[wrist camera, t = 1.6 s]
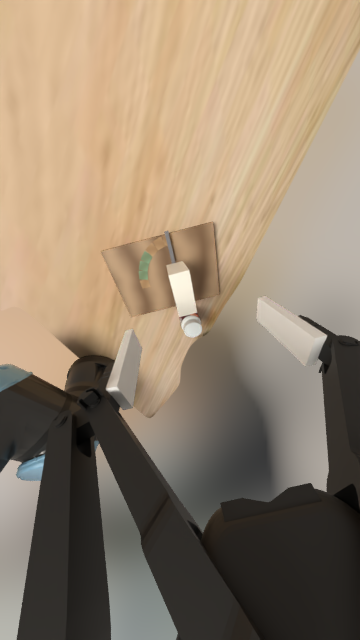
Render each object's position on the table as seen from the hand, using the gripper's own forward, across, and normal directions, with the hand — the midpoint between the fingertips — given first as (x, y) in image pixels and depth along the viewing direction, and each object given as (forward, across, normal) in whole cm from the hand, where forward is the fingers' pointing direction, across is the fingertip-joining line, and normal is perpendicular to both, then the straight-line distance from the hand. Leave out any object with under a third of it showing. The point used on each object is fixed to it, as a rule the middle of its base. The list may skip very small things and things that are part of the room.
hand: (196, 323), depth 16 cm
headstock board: (+22, -2, 0) cm, 22 cm away
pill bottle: (+22, 0, -11) cm, 24 cm away
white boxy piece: (+19, 0, +2) cm, 20 cm away
